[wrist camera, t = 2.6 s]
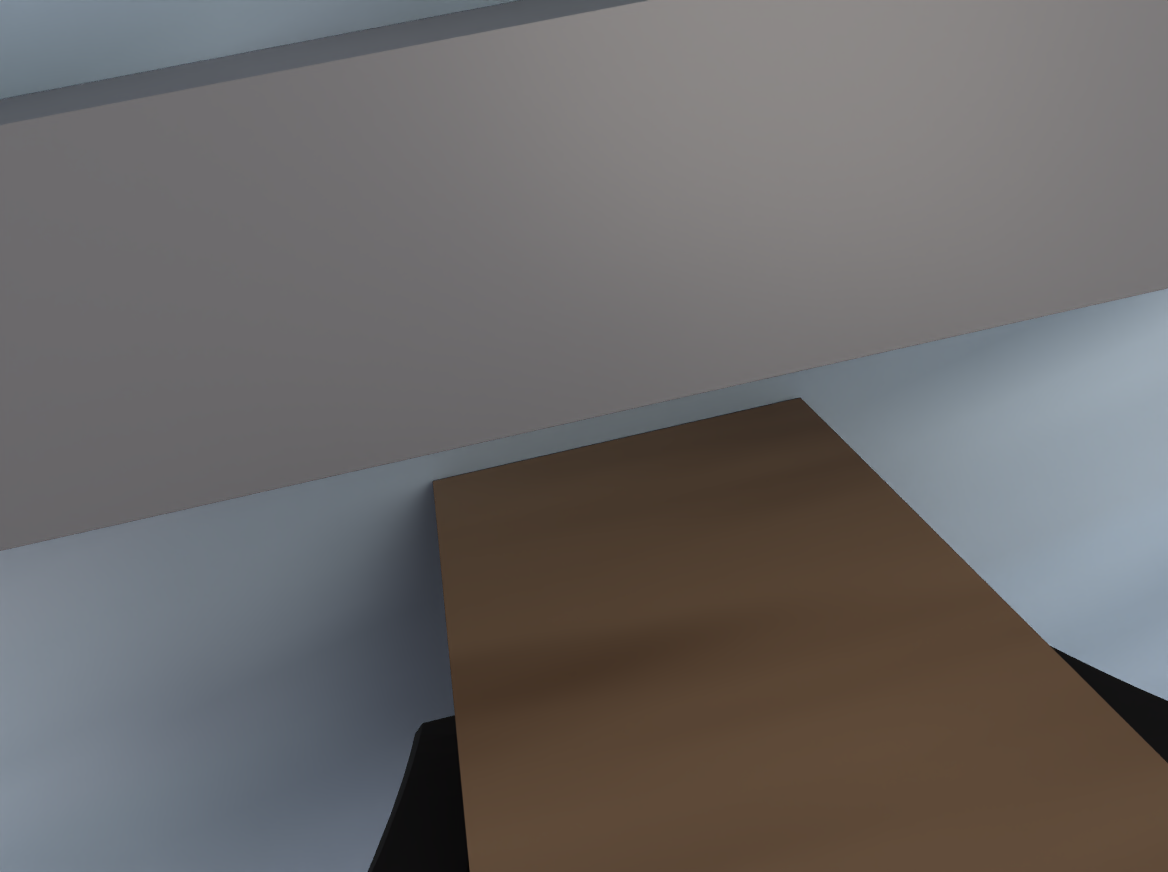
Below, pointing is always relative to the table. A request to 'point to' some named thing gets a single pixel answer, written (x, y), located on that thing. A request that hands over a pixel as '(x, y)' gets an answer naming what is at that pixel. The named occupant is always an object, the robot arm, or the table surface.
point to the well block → (542, 226)
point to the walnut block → (761, 674)
